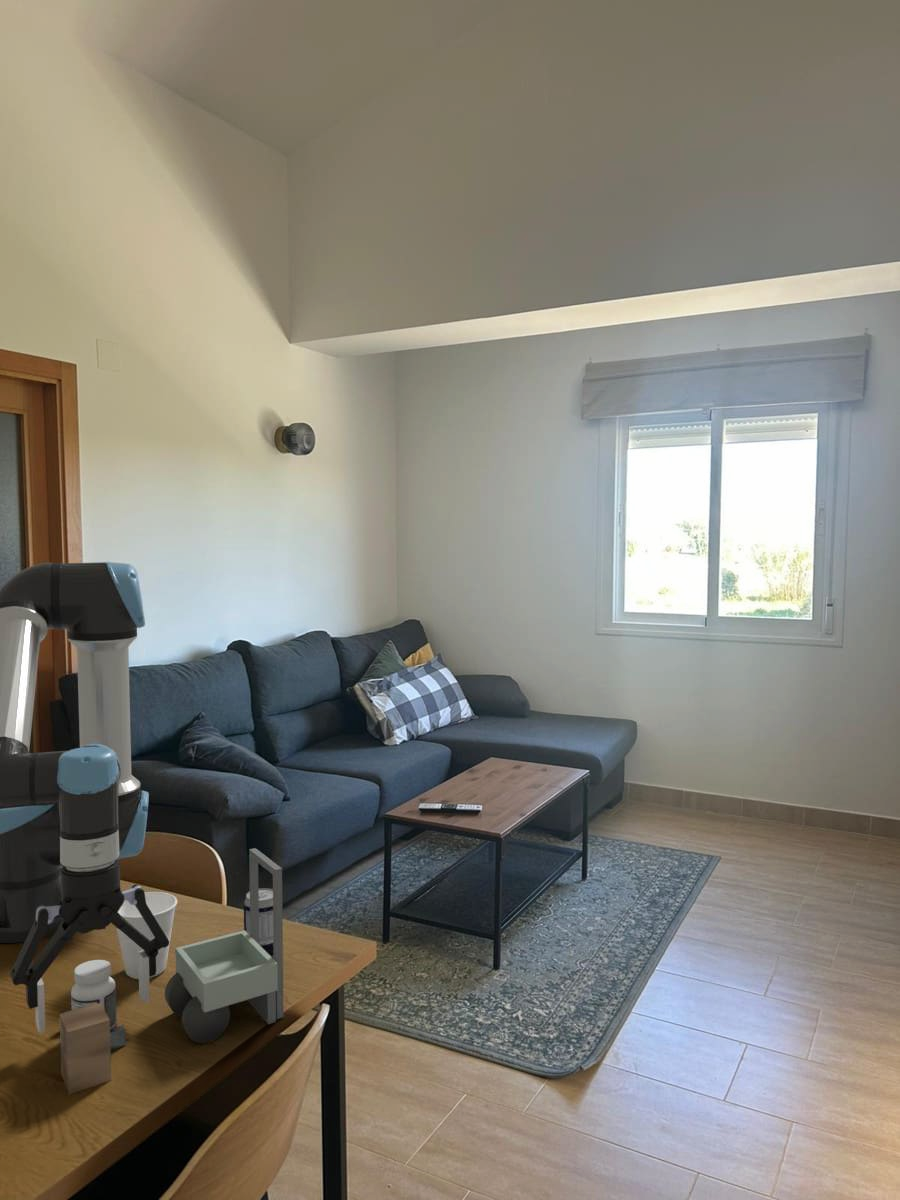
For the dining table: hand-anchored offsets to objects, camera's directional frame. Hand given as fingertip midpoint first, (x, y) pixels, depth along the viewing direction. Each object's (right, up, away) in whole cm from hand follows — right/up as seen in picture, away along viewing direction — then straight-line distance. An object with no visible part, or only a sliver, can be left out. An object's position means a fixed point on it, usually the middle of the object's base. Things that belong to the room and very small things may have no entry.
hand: (94, 1013), depth 121 cm
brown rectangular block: (+2, -4, -9) cm, 10 cm away
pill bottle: (0, -4, 0) cm, 4 cm away
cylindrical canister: (+19, -2, +21) cm, 28 cm away
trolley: (+17, -3, +6) cm, 18 cm away
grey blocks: (0, -3, 0) cm, 3 cm away
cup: (+1, -2, +19) cm, 19 cm away
